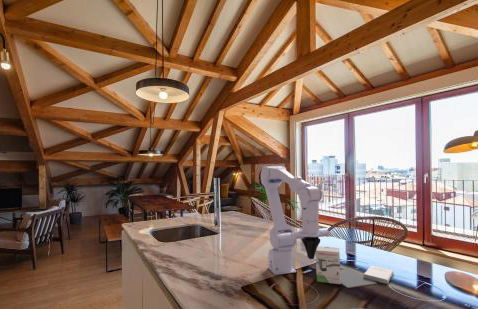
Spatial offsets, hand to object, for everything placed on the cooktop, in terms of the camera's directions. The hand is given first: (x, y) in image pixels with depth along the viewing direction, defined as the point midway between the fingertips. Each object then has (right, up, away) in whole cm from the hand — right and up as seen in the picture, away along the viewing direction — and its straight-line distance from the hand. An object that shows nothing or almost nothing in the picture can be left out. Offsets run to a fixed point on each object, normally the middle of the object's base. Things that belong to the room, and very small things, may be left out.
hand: (310, 258), depth 94 cm
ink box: (+8, -10, +5) cm, 14 cm away
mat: (+17, -11, +7) cm, 21 cm away
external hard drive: (+29, -11, +8) cm, 32 cm away
